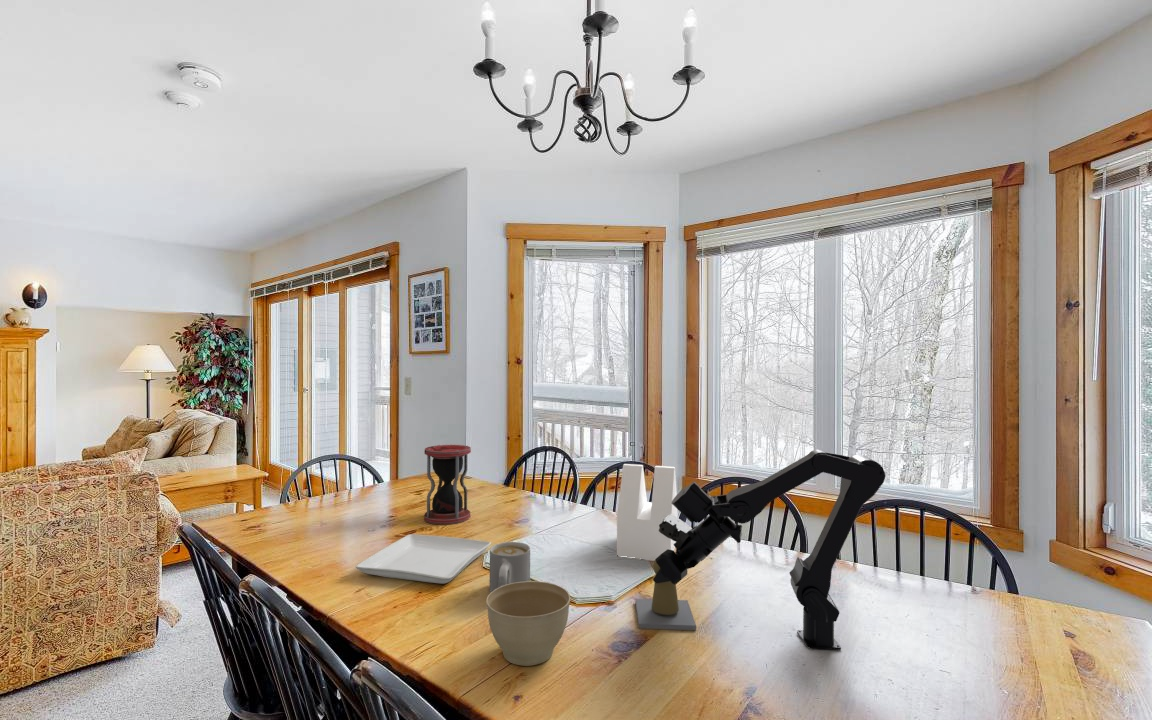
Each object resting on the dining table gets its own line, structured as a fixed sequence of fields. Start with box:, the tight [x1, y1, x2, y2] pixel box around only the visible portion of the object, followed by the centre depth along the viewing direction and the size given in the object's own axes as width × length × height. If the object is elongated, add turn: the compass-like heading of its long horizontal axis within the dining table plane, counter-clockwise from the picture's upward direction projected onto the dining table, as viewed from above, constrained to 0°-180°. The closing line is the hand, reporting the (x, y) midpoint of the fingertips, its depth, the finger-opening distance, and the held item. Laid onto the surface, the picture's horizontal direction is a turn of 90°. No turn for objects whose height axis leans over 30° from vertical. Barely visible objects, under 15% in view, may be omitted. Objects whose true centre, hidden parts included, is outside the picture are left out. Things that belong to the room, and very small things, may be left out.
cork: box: [652, 560, 679, 615], centre depth 120 cm, size 6×6×11 cm
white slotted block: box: [616, 463, 678, 562], centre depth 163 cm, size 19×15×25 cm
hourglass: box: [423, 444, 472, 525], centre depth 192 cm, size 16×16×25 cm
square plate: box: [354, 533, 492, 585], centre depth 149 cm, size 27×27×4 cm
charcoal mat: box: [635, 598, 697, 631], centre depth 120 cm, size 12×12×1 cm
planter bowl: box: [485, 580, 571, 667], centre depth 104 cm, size 16×16×11 cm
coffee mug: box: [489, 541, 531, 594], centre depth 132 cm, size 13×10×10 cm
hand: (659, 577), depth 121 cm, fingers closed on cork, 5 cm apart
